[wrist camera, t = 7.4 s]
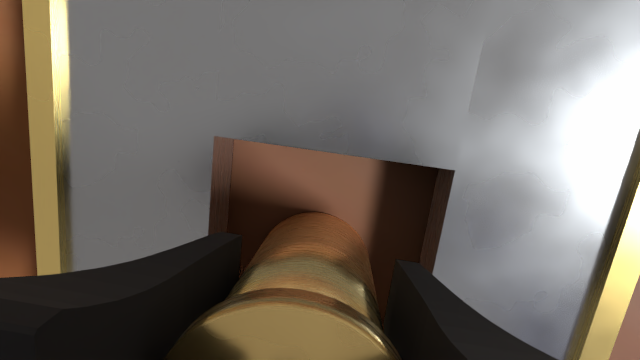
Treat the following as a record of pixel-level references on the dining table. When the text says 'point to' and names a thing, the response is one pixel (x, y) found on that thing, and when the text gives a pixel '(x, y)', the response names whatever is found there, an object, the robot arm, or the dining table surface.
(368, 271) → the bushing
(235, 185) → the dining table surface
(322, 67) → the jig
